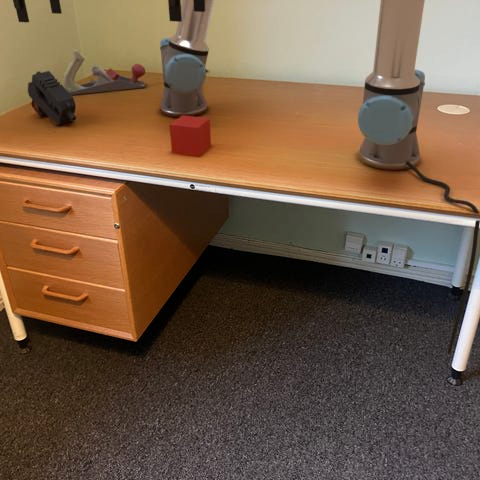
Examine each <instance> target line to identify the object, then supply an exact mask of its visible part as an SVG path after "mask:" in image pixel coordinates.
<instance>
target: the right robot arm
mask: <svg viewBox="0 0 480 480" xmlns="http://www.w3.org/2000/svg"><path fill="white" fill-rule="evenodd" d="M193 1H194V11H195V12H205V0H193ZM425 1H426V0H380V1H379V2H380V4H379V14H378V22H377V33H376V41H375V51H374V60H373V69H372V72H370V73H369V74H368V75H367V76H366V77H365V80H364V88H363V97H362V105H361V106H360V107H359V111H358V115H357V125H358V129H359V131H360V133H361V134H362V136H363V137H364V138H363V141H362V143H361V145H360V147H359V151H358V159H359V160H360V162H362V163H363V164H364V165H367V166H369V167H372V168H374V169H378V170H385V171H403V170H408V169H411V170H412V171H413V172H414V173H415V174H416V175H417V176H418V177H419V178H420V179H422V180H423V181H425V182H427V183H430V184H434V185H438V186H441V187H443V188H445V191H444V194H443V197H444V199H445V200H446V201H448V202H450V203H452V204H459V205H464V206H467V207H469V208H470V209H471V210H472V211H473V213H474V214H478V215H479V214H480V212H479V209H478V208H477V206H476V205H475V204H473V203H471V202H470V201H468V200H464V199H457V198H452V197H450V196H449V193H450V192H451V188H450V186H449V184H447V183H446V182H443V181H440V180H436V179H431V178H428V177H427V176H425V175H424V174H422V172H421V171H420V170H419V169H418V168H417V167H416V166H418V164H419V163H420V158H421V153H420V151H421V150H420V146H419V140H418V135H417V130H418V124H419V118H420V117H419V116H420V111H421V105H422V99H423V93H424V87H425V85H426V81H425V80H426V74H425V72H423V71H422V70H419V69H416V63H417V56H418V49H419V42H420V35H421V27H422V22H423V21H422V20H423V14H424V8H425ZM167 3H168V4H167V5H168V16H169V22H176V23H178V22H181V21H182V15H181V4H182V0H167ZM479 230H480V220H479V219H477V220H475V223H474V229H473V236H472V237H473V238H472V247H471V254H470V259H469V260H470V261H469V267H468V271H467V277H466V279H465V285H464V288H463V293H462V296H461V299H460V304H459V308H458V309H457V313H456V317H455V321H454V325H453V329H452V332H451V337H450V340H449V345H448V348H447V354H449V355H451V354H452V351H453V346H454V344H455V343H454V342H455V339H456V335H457V331H458V328H459V324H460V320H461V317H462V313H463V310H464V306H465V302H466V300H467V295H468V291H469V288H470V284H471V279H472V275H473V271H474V267H475V261H476V254H477V247H478V239H479V238H478V237H479Z"/></svg>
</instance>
